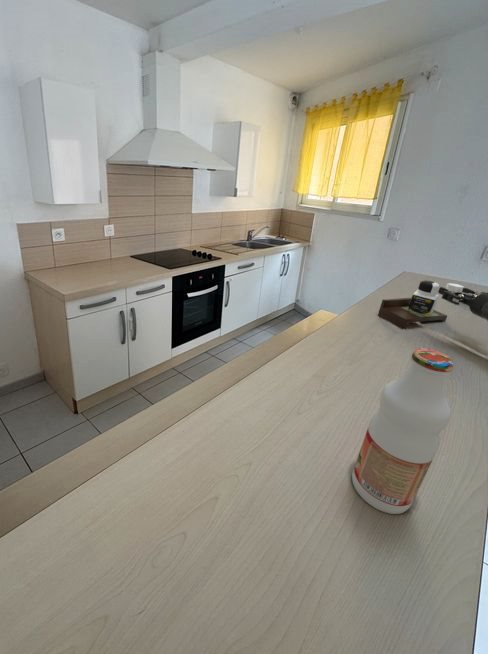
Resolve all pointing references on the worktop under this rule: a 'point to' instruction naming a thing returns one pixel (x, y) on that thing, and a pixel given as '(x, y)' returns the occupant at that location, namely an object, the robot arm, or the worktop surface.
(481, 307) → the robot arm
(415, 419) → the fruit juice
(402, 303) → the dark wooden tray
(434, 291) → the medicine bottle
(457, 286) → the white cylinder
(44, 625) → the worktop surface
